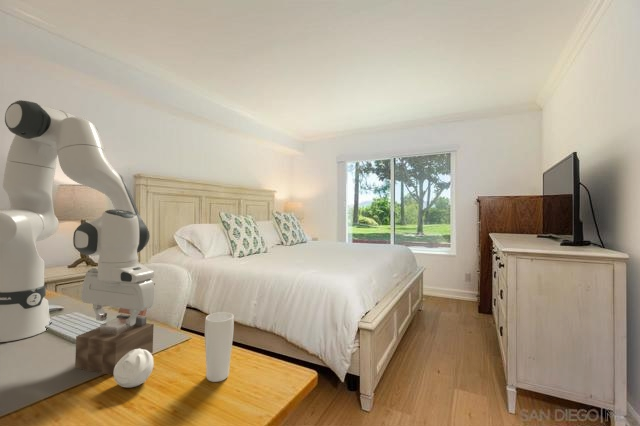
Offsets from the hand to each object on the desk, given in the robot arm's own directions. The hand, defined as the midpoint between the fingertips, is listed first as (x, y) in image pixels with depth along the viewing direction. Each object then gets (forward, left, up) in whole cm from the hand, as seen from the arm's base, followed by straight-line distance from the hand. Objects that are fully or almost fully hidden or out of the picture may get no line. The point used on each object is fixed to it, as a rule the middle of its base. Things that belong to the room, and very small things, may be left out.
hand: (115, 322), depth 78 cm
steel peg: (0, 0, -9) cm, 9 cm away
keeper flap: (0, +6, +5) cm, 8 cm away
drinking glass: (+30, 0, -10) cm, 32 cm away
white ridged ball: (+14, -7, -10) cm, 19 cm away
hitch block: (0, 0, -10) cm, 10 cm away
